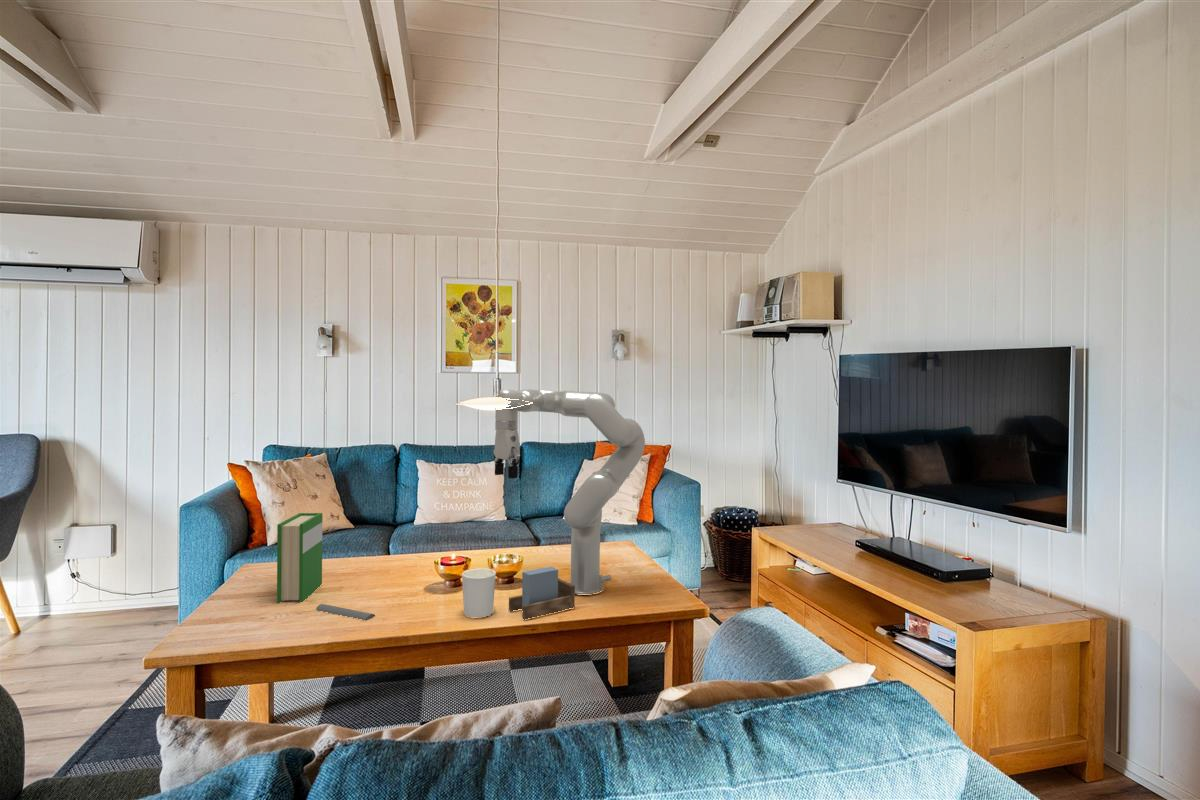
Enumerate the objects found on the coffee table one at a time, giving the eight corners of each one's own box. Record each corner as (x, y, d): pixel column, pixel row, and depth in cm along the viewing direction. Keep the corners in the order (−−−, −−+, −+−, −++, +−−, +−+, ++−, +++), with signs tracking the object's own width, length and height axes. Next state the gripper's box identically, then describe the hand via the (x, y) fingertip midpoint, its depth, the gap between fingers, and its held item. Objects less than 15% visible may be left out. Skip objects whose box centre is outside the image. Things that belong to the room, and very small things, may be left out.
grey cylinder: (462, 621, 177) (463, 579, 176) (460, 609, 186) (460, 569, 186) (497, 618, 179) (497, 576, 179) (493, 606, 189) (493, 567, 189)
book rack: (557, 600, 195) (557, 578, 195) (574, 608, 188) (574, 585, 188) (508, 611, 185) (509, 587, 185) (524, 620, 177) (524, 596, 177)
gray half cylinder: (365, 623, 176) (365, 616, 176) (314, 612, 183) (314, 606, 183) (376, 618, 180) (376, 611, 180) (325, 607, 187) (326, 602, 187)
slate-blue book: (550, 605, 191) (551, 566, 190) (557, 609, 187) (558, 569, 187) (522, 612, 185) (522, 571, 184) (528, 616, 181) (529, 575, 181)
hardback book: (302, 602, 190) (302, 524, 189) (276, 603, 189) (277, 524, 189) (321, 584, 207) (322, 513, 207) (298, 585, 207) (299, 513, 206)
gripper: (528, 427, 207) (528, 478, 207) (504, 424, 221) (503, 472, 221) (508, 427, 202) (508, 480, 203) (485, 425, 216) (484, 474, 217)
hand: (505, 476), depth 212 cm, fingers open, 9 cm apart
